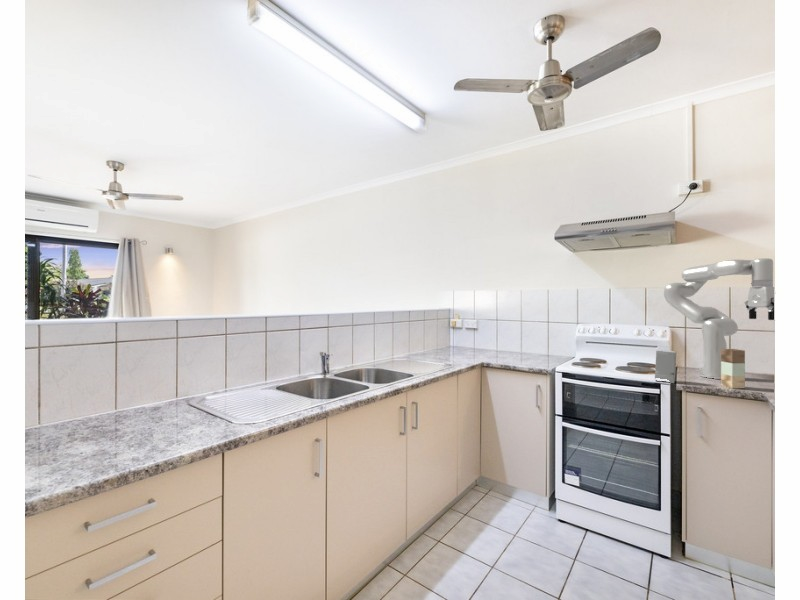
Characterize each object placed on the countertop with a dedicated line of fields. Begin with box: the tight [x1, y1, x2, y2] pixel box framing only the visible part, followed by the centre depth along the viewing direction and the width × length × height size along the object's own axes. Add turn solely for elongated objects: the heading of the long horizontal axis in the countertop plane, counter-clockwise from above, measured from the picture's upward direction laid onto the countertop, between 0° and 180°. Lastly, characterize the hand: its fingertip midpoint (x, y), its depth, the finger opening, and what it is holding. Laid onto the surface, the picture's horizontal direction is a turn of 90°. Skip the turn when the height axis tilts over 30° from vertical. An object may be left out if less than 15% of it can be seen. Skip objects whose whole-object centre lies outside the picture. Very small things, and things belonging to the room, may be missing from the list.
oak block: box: [720, 374, 746, 389], centre depth 179 cm, size 6×6×6 cm
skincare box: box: [654, 349, 677, 384], centre depth 192 cm, size 8×7×16 cm
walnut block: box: [721, 348, 746, 364], centre depth 179 cm, size 6×6×6 cm
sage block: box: [721, 361, 746, 377], centre depth 179 cm, size 6×6×6 cm
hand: (762, 319), depth 182 cm, fingers open, 9 cm apart
